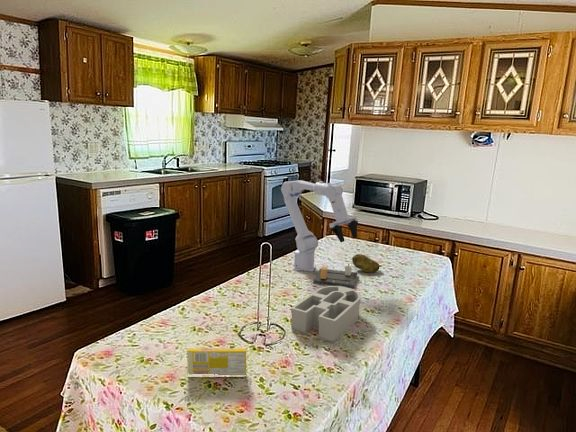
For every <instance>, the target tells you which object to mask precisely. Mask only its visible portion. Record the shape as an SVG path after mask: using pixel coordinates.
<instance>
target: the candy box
mask: <svg viewBox="0 0 576 432" xmlns="http://www.w3.org/2000/svg"><path fill="white" fill-rule="evenodd" d="M186 358H187V374H188V373H189V374H214V375H215V374H218V375H246V376H247V348H187V351H186Z"/></svg>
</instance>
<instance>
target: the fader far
mask: <svg viewBox="0 0 576 432" xmlns="http://www.w3.org/2000/svg"><path fill="white" fill-rule="evenodd" d="M352 264H353V263H352ZM352 264H351V263H345V267H344V269H345V270H344V271H345V275H349V276H350V275H351V272H352Z"/></svg>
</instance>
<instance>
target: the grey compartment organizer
mask: <svg viewBox="0 0 576 432" xmlns="http://www.w3.org/2000/svg"><path fill="white" fill-rule="evenodd" d="M361 298H362V296H361V294H360V293H359V292H358V291H357V290H355V289H354V288H348V287H342V286H331V285H325V286H322V287H319V288H317V289H316V290H315V291H313V292H312V293H310V294H309V295H308V296H306V297H305V298H303V299H302V300H300V301H299V302H297V303H296V304H295V305H293V306H292V307H291V309H290V313H291V321H290V324H291V325H290V326H291V327H290V329H291V331H292V330H293V332H295V331H296V332H295V333H298V332H299V333H298V334H301V333H302V335H304V334H305V335H307V334H308V333H309V332H310V331H312V329H317V330H318V335H317V337H318V339H319V340H321V341H324V342H327V343H330V344H332V345H334V344H335V342H336V341H338V340H339V338H341V337H342V335H344V334H345V332H347V330H349V329H350V328H351V327H352V326H353V325H354V324H355V322H357V321H358V318H359V316H360V303H361Z"/></svg>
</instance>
